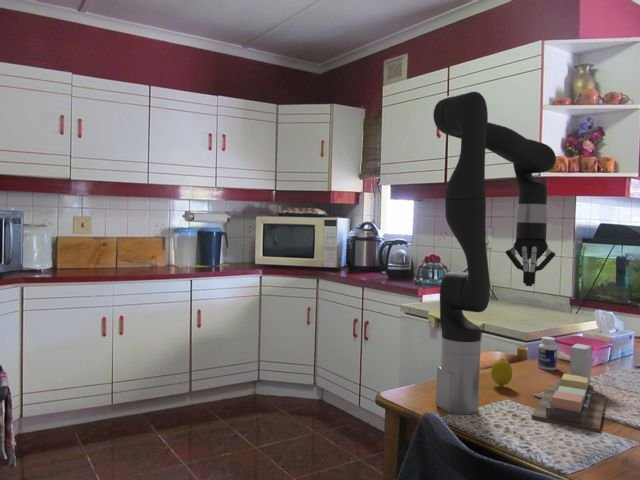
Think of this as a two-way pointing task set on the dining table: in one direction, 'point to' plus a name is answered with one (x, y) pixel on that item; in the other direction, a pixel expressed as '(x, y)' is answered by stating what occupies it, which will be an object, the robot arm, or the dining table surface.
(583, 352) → the skincare box
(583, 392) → the pad sage
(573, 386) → the pad ochre
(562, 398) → the pad terracotta
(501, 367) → the lemon
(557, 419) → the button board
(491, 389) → the dining table surface
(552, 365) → the pill bottle
